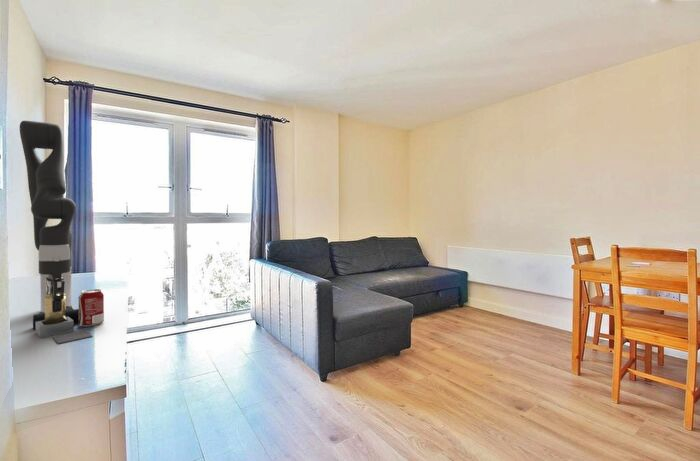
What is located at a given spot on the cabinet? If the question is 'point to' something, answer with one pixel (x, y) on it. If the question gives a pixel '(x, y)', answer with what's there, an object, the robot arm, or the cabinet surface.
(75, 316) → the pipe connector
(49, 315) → the brass cylinder
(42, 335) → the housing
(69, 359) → the cabinet surface
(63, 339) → the mat
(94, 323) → the soda can
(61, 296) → the robot arm
